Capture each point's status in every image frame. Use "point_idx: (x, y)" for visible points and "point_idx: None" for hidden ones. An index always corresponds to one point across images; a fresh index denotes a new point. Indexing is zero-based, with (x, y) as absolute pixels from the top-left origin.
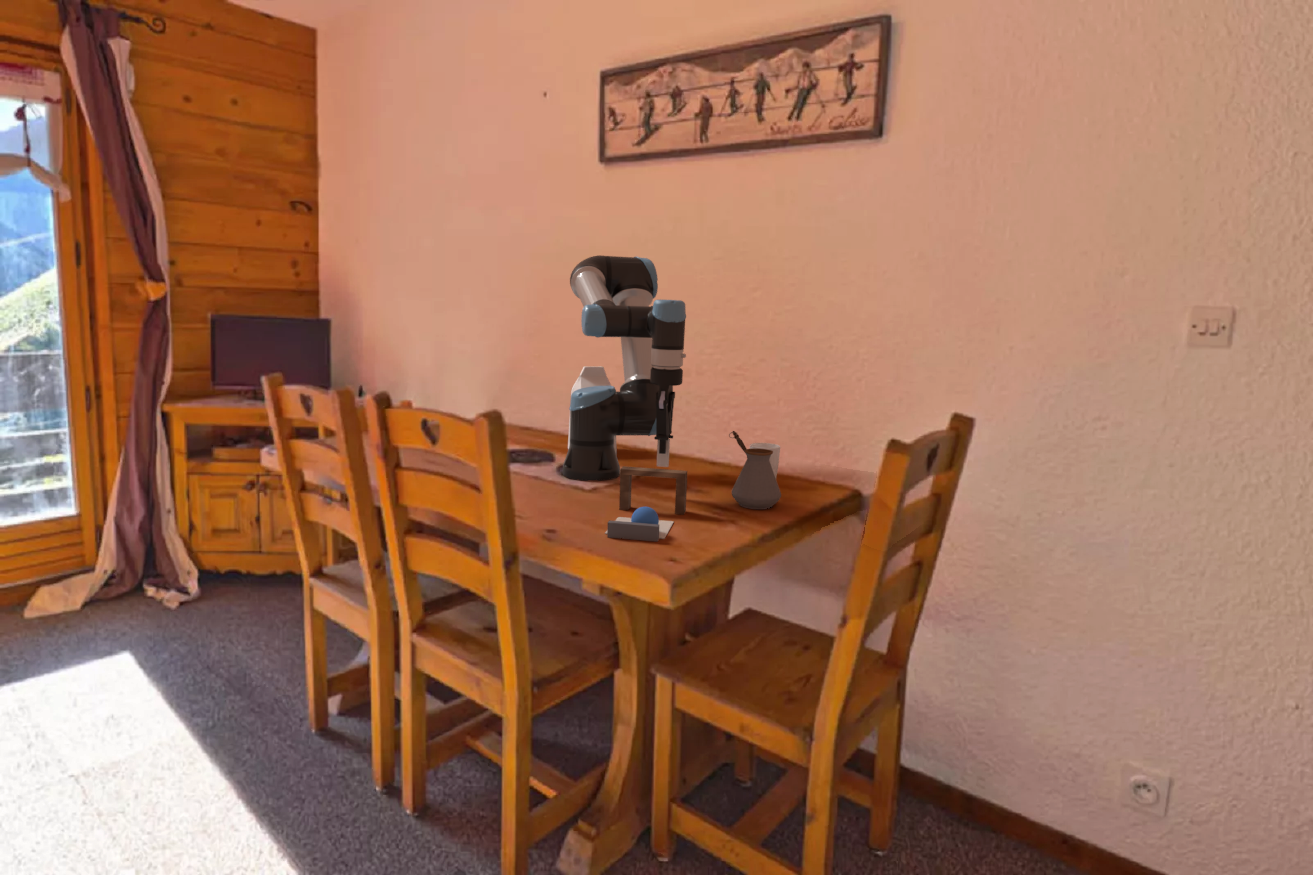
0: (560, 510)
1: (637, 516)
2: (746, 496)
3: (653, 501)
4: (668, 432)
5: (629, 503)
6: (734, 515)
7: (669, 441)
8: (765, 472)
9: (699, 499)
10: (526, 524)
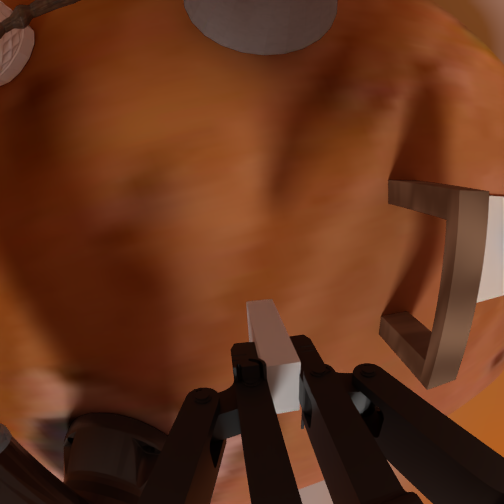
0: None
1: None
2: (335, 14)
3: (319, 283)
4: (320, 393)
5: (401, 318)
6: (380, 58)
7: (274, 358)
8: None
9: (251, 161)
10: (472, 397)
